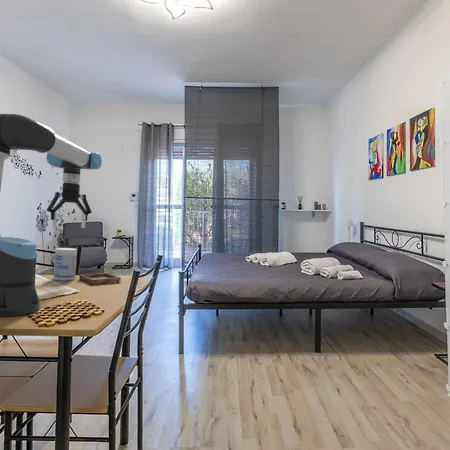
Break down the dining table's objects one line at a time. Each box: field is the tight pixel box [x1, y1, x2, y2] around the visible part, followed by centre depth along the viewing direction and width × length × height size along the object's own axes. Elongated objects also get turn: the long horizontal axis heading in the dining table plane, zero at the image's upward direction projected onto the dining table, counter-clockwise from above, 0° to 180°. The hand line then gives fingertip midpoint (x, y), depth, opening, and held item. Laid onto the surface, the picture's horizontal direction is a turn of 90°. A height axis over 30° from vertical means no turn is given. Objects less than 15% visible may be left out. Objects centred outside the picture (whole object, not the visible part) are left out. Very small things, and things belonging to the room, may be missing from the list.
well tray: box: [78, 272, 122, 286], centre depth 169 cm, size 14×14×2 cm
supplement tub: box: [53, 247, 78, 282], centre depth 168 cm, size 10×10×15 cm
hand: (69, 227), depth 168 cm, fingers open, 13 cm apart
